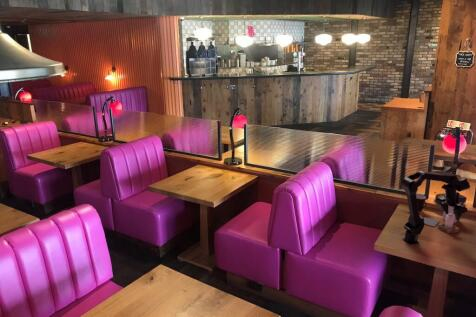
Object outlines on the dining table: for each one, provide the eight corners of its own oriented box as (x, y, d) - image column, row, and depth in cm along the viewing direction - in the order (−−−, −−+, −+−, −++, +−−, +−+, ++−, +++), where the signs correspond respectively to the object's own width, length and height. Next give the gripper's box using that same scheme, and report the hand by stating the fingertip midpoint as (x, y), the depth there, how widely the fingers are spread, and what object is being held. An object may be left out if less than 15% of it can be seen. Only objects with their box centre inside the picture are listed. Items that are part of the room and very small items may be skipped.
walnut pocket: (448, 233, 241) (448, 230, 240) (437, 227, 248) (438, 224, 247) (458, 231, 243) (459, 228, 242) (447, 226, 250) (448, 222, 250)
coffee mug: (409, 206, 279) (411, 193, 276) (422, 208, 277) (424, 194, 275) (412, 213, 268) (414, 199, 265) (426, 214, 266) (428, 201, 264)
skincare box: (458, 220, 259) (462, 199, 254) (455, 223, 255) (459, 201, 250) (444, 216, 264) (448, 195, 260) (441, 219, 260) (445, 198, 256)
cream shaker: (447, 231, 243) (450, 216, 240) (442, 228, 247) (444, 213, 244) (453, 230, 244) (456, 215, 241) (447, 227, 248) (450, 212, 245)
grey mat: (434, 227, 249) (434, 226, 248) (419, 222, 254) (419, 222, 254) (439, 221, 257) (439, 220, 256) (424, 217, 262) (424, 216, 262)
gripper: (475, 195, 219) (476, 220, 224) (452, 184, 236) (453, 207, 241) (457, 201, 218) (458, 226, 223) (435, 189, 235) (437, 212, 240)
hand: (452, 217), depth 232 cm, fingers open, 9 cm apart
